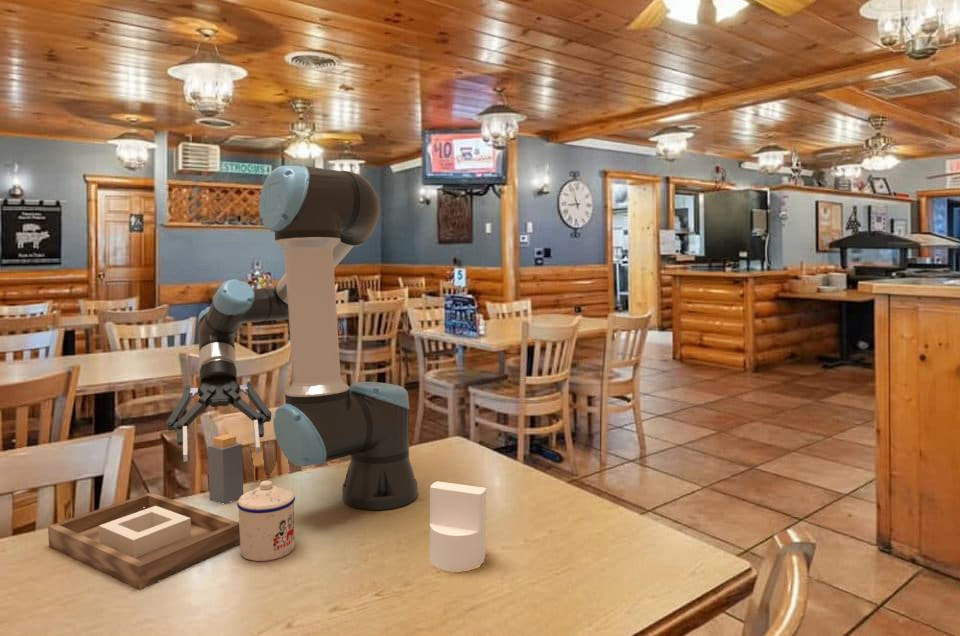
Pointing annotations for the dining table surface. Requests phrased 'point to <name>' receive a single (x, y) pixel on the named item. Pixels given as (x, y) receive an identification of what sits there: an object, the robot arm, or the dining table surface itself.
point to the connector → (225, 469)
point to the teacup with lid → (266, 522)
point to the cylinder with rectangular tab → (457, 526)
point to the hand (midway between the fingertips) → (222, 454)
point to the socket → (144, 531)
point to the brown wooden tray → (142, 571)
